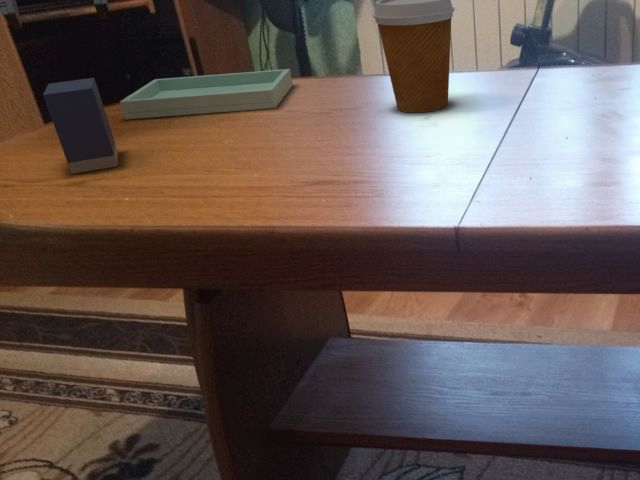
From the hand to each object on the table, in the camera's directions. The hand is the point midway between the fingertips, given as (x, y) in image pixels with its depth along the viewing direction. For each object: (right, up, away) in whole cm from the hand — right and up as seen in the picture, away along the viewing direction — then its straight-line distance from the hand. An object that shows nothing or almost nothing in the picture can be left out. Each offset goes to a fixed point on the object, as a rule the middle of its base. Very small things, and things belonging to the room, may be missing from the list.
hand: (58, 18), depth 80 cm
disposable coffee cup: (+39, -6, +11) cm, 41 cm away
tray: (+10, -2, +21) cm, 23 cm away
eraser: (+5, -16, -1) cm, 17 cm away
